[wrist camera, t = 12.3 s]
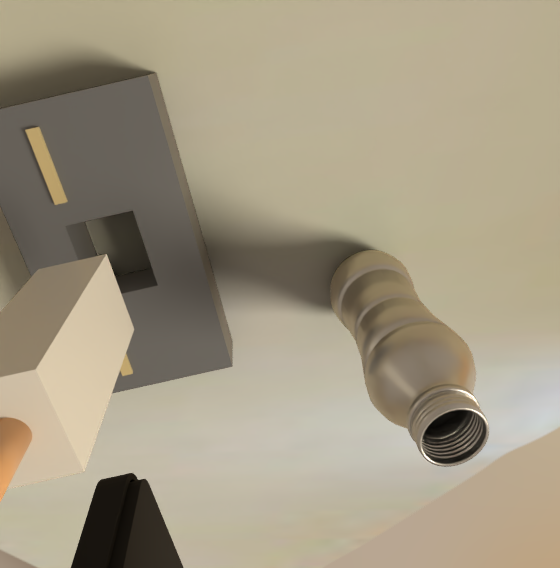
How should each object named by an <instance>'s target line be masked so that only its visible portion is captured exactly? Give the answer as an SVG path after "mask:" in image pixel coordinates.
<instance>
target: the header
mask: <svg viewBox="0 0 560 568" xmlns="http://www.w3.org/2000/svg"><path fill="white" fill-rule="evenodd" d="M0 206H1V209H2V211H3V213H4V215H5V218H6V220H7V222H8V225H9V227H10V229H11V231H12V234H13V236H14V238H15V241H16V243H17V245H18V247H19V250H20V252H21V254H22V256H23V259H24V261H25V263H26V266H27V268H28V270H29V272H30V275H31V277H32V276H33V275H34V273H35V272H36V271H37V270H38V269H42V268H46V267H51V266H55V265H60V264H64V263H69V262H73V261H77V260H82V259H86V258H91V257H95V256H97V254H96V251H95V248H94V246H93V243H92V240H91V238H90V235H89V232H88V230H87V227H86V224H85V221H89V220H93V219H98V218H102V217H107V216H111V215H116V214H120V213H124V212H129V211H133V213H134V216H135V219H136V222H137V225H138V228H139V231H140V234H141V237H142V240H143V243H144V246H145V249H146V252H147V255H148V258H149V261H150V264H151V267H152V268H150V269H146V270H142V271H137V272H133V273H128V274H124V275H119V276H115V278H116V281H117V284H118V286H119V289H120V292H121V294H122V297H123V300H124V303H125V305H126V308H127V311H128V313H129V316H130V319H131V322H132V324H133V327H134V332H133V334H132V337H131V340H130V343H129V346H128V349H127V352H126V354H125V357H124V360H123V363H122V366H121V369H120V372H119V374H118V377H117V380H116V383H115V386H114V389H113V392H112V393H116V392H120V391H125V390H129V389H134V388H138V387H143V386H147V385H152V384H156V383H160V382H165V381H169V380H174V379H178V378H183V377H187V376H192V375H196V374H201V373H205V372H210V371H214V370H219V369H223V368H228V367H232V338H231V334H230V331H229V327H228V324H227V320H226V317H225V313H224V310H223V306H222V303H221V299H220V296H219V292H218V289H217V285H216V282H215V278H214V274H213V271H212V267H211V264H210V260H209V257H208V253H207V250H206V246H205V243H204V239H203V236H202V232H201V229H200V225H199V222H198V218H197V215H196V211H195V208H194V204H193V200H192V197H191V193H190V190H189V186H188V183H187V179H186V176H185V172H184V169H183V165H182V162H181V158H180V155H179V151H178V148H177V144H176V141H175V137H174V133H173V130H172V126H171V123H170V119H169V116H168V112H167V109H166V105H165V102H164V98H163V95H162V91H161V88H160V84H159V81H158V77H157V74H156V73H153V74H148V75H144V76H140V77H135V78H131V79H126V80H122V81H118V82H113V83H109V84H105V85H100V86H96V87H92V88H87V89H83V90H78V91H74V92H70V93H65V94H61V95H57V96H52V97H48V98H43V99H39V100H35V101H30V102H26V103H22V104H17V105H13V106H9V107H4V108H0Z"/></svg>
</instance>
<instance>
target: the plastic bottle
mask: <svg viewBox="0 0 560 568" xmlns="http://www.w3.org/2000/svg"><path fill="white" fill-rule="evenodd" d="M330 297H331V305H332V308H333V311H334V312H335V314H336V316H337V317H338V319H339V320H340V321H341V323H342V324H343V325H344V326H345V327H346V328H347V329H348V330H349V331H350V333H351V334H352V336H353V338H354V339H355V341H356V343H357V346H358V349H359V352H360V355H361V359H362V366H363V372H364V378H365V384H366V387H367V391H368V394H369V397H370V400H371V402H372V403H373V405H374V406H375V408H376V409H377V410H378V411H379V412H380V413H381V414H382V415H383V416H385V417H386V418H387V419H388V420H389V421H391V422H392V423H394V424H396V425H399V426H402V427H404V428H407V429H408V431H409V433H410V436H411V437H412V439H413V440H414V441H415V442H416V444H417V447H418V449H419V451H420V453H421V454H422V455H423V457H424V458H425V459H426V460H427V461H429V462H430V463H432V464H435V465H438V466H444V467H446V466H455V465H459V464H462V463H465V462H466V461H468V460H470V459H472V458H473V457H474V456H476V455H477V454H478V453H479V452H480V451H481V450H482V448H483V447H484V446H485V444H486V442H487V439H488V436H489V426H488V422H487V419H486V417H485V415H484V414H483V412H482V411H481V409H480V407H479V404H478V402H477V400H476V398H475V397H474V395H473V390H474V386H475V382H476V369H475V365H474V360H473V356H472V353H471V351H470V349H469V347H468V345H467V344H466V343H465V342H464V340H463V339H462V338H461V337H460V336H459V335H458V334H457V333H456V332H455V331H453V330H452V329H451V328H449V327H448V326H447V325H445V324H444V323H443V322H442V321H440V320H439V319H438V318H436V317H435V316H434V315H433V314H432V313H431V312H430V311H429V310H428V309H427V308H426V307H425V306H424V304H423V303H422V302H421V301H420V299H419V297H418V295H417V293H416V292H415V289H414V286H413V282H412V279H411V277H410V275H409V273H408V271H407V269H406V267H405V266H404V265H403V264H402V263H401V262H400V261H399V260H397V259H396V258H394V257H393V256H391V255H389V254H387V253H385V252H382V251H377V250H366V251H361V252H358V253H356V254H353V255H352V256H350V257H348V258H347V259H346V260H345V261H343V262H342V263H341V264H340V266H339V267H338V268H337V269H336V271H335V273H334V275H333V278H332V281H331V287H330Z"/></svg>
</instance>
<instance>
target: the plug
mask: <svg viewBox="0 0 560 568" xmlns="http://www.w3.org/2000/svg"><path fill="white" fill-rule="evenodd" d="M133 332H134V327H133V324H132V322H131V319H130V316H129V313H128V311H127V308H126V305H125V303H124V300H123V297H122V294H121V292H120V289H119V286H118V284H117V281H116V278H115V275H114V273H113V270H112V267H111V265H110V262H109V259H108V256H107V254H104V255H100V256H95V257H91V258H86V259H82V260H77V261H73V262H69V263H64V264H60V265H55V266H51V267H46V268H42V269H38V270H37V271H36V272H35V273H34V275H33V276H32V277H31V278H30V279H29V280H28V281H27V283H26V284H25V285H24V286H23V287H22V288H21V289H20V290H19V292H18V293H17V294H16V295H15V296H14V297H13V298H12V300H11V301H10V302H9V303H8V304H7V305H6V306H5V308H4V309H3V310H2V311H1V312H0V501H1V500H2V498H3V496H4V494H5V492H6V490H7V489H10V488H15V487H19V486H24V485H28V484H33V483H38V482H42V481H47V480H51V479H56V478H60V477H65V476H69V475H74V474H78V473H83V472H84V471H85V469H86V466H87V463H88V460H89V457H90V454H91V451H92V449H93V446H94V443H95V440H96V437H97V434H98V432H99V429H100V426H101V423H102V420H103V417H104V414H105V412H106V409H107V406H108V403H109V400H110V397H111V394H112V392H113V389H114V386H115V383H116V380H117V377H118V374H119V372H120V369H121V366H122V363H123V360H124V357H125V354H126V352H127V349H128V346H129V343H130V340H131V337H132V334H133Z"/></svg>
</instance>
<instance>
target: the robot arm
mask: <svg viewBox="0 0 560 568" xmlns="http://www.w3.org/2000/svg"><path fill="white" fill-rule="evenodd" d="M71 568H183V566H182V563H181V561H180V558H179V556H178V553H177V551H176V549H175V546H174V544H173V541H172V539H171V536H170V534H169V532H168V529H167V527H166V524H165V522H164V519H163V517H162V515H161V512H160V510H159V507H158V505H157V502H156V500H155V498H154V495H153V493H152V490H151V488H150V485H149V483H148V481H147V480H146V479H141V480H138V479H137V477H136V476H135V475H134V474H133V473H129V474H125V475H120V476H116V477H111V478H106V479H102V480H100V481H99V482H98V484H97V486H96V489H95V492H94V495H93V498H92V502H91V505H90V508H89V511H88V515H87V518H86V521H85V524H84V527H83V531H82V534H81V537H80V540H79V543H78V547H77V550H76V553H75V556H74V559H73V563H72V566H71Z"/></svg>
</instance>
